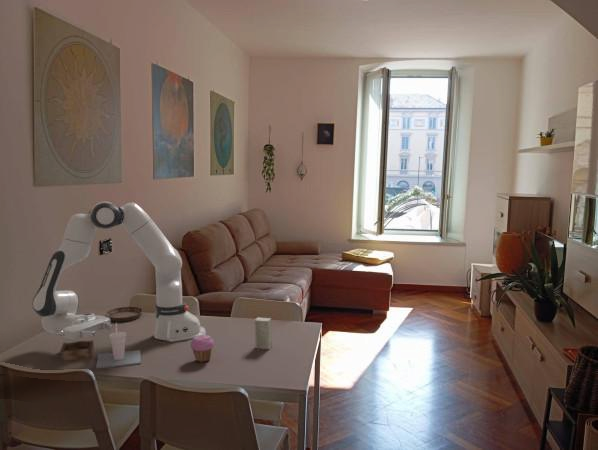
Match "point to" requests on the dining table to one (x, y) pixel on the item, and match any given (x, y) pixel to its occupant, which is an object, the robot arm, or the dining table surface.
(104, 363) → the slate mat
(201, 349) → the cupcake
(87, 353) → the walnut holder
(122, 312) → the plant saucer
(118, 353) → the smoothie
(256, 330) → the skincare box
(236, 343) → the dining table surface
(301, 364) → the dining table surface
